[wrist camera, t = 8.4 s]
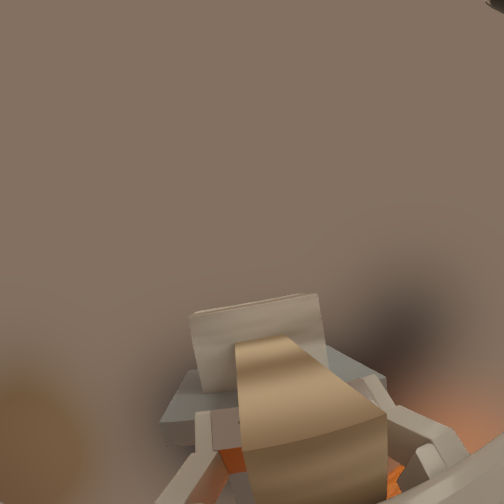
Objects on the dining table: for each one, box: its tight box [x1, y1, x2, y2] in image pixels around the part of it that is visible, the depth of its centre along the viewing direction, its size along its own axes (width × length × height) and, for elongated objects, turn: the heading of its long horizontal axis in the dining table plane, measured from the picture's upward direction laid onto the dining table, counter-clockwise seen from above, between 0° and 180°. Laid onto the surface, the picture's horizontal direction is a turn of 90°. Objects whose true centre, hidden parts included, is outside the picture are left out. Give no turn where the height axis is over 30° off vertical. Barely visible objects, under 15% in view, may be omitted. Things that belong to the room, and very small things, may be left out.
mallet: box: [188, 293, 388, 504], centre depth 14 cm, size 18×8×5 cm, turn 4°
